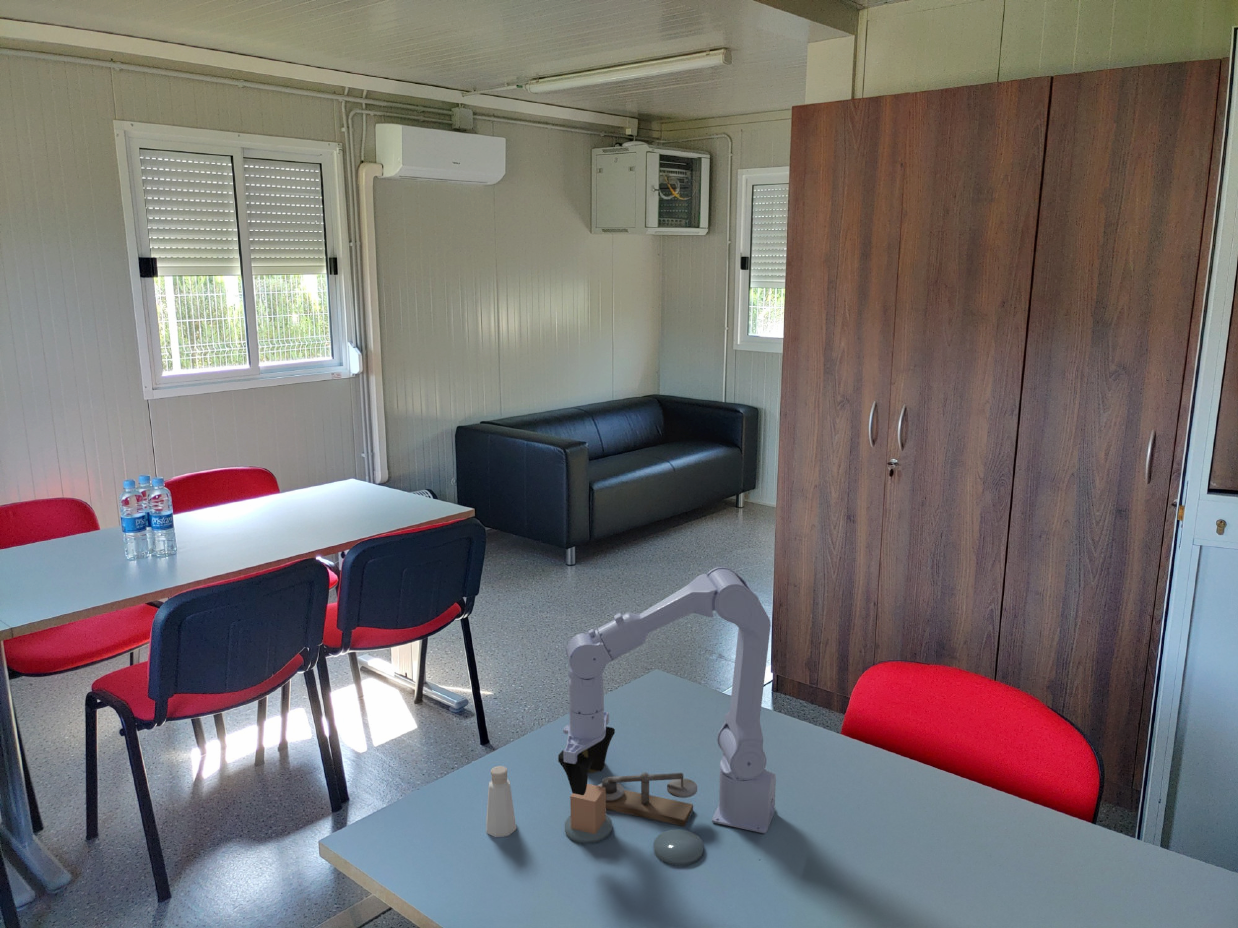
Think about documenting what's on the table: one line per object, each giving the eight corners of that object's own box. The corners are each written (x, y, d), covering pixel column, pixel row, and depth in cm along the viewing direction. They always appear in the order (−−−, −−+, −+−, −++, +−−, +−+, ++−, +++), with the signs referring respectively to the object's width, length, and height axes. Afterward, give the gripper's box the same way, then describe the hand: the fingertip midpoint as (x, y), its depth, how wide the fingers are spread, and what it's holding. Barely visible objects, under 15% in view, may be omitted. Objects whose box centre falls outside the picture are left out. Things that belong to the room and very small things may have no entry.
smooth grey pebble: (708, 840, 153) (708, 835, 153) (694, 869, 146) (694, 864, 146) (663, 830, 156) (663, 825, 156) (647, 858, 149) (647, 853, 149)
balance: (700, 811, 162) (701, 768, 160) (691, 828, 157) (692, 784, 155) (601, 790, 168) (601, 748, 167) (590, 805, 164) (589, 763, 162)
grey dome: (618, 820, 159) (618, 815, 159) (601, 847, 152) (601, 842, 152) (576, 811, 162) (576, 806, 162) (557, 837, 155) (556, 831, 154)
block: (605, 819, 158) (605, 787, 157) (595, 833, 154) (595, 801, 153) (581, 813, 160) (581, 782, 158) (570, 828, 155) (570, 796, 154)
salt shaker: (511, 839, 154) (509, 779, 152) (480, 835, 155) (478, 776, 153) (521, 820, 159) (519, 762, 157) (491, 816, 160) (488, 759, 158)
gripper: (581, 684, 160) (583, 755, 163) (545, 722, 147) (547, 799, 150) (619, 690, 158) (620, 762, 160) (586, 729, 144) (587, 807, 147)
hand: (587, 780), depth 155 cm, fingers open, 7 cm apart
